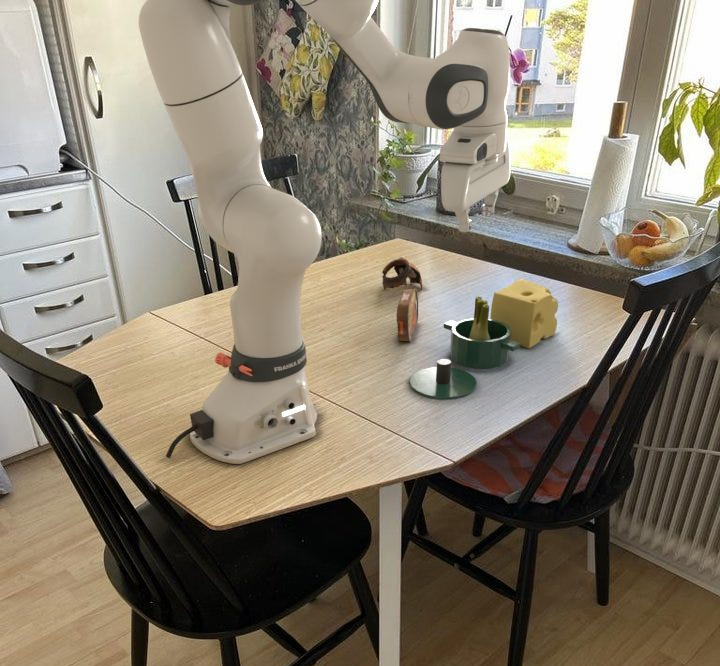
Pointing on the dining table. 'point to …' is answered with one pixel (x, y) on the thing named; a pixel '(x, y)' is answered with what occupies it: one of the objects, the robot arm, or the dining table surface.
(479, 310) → the fennel bulb
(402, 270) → the brown rounded piece
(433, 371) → the lid
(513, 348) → the pot
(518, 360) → the dining table surface
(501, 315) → the cheese
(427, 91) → the robot arm
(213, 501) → the dining table surface
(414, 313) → the tin
